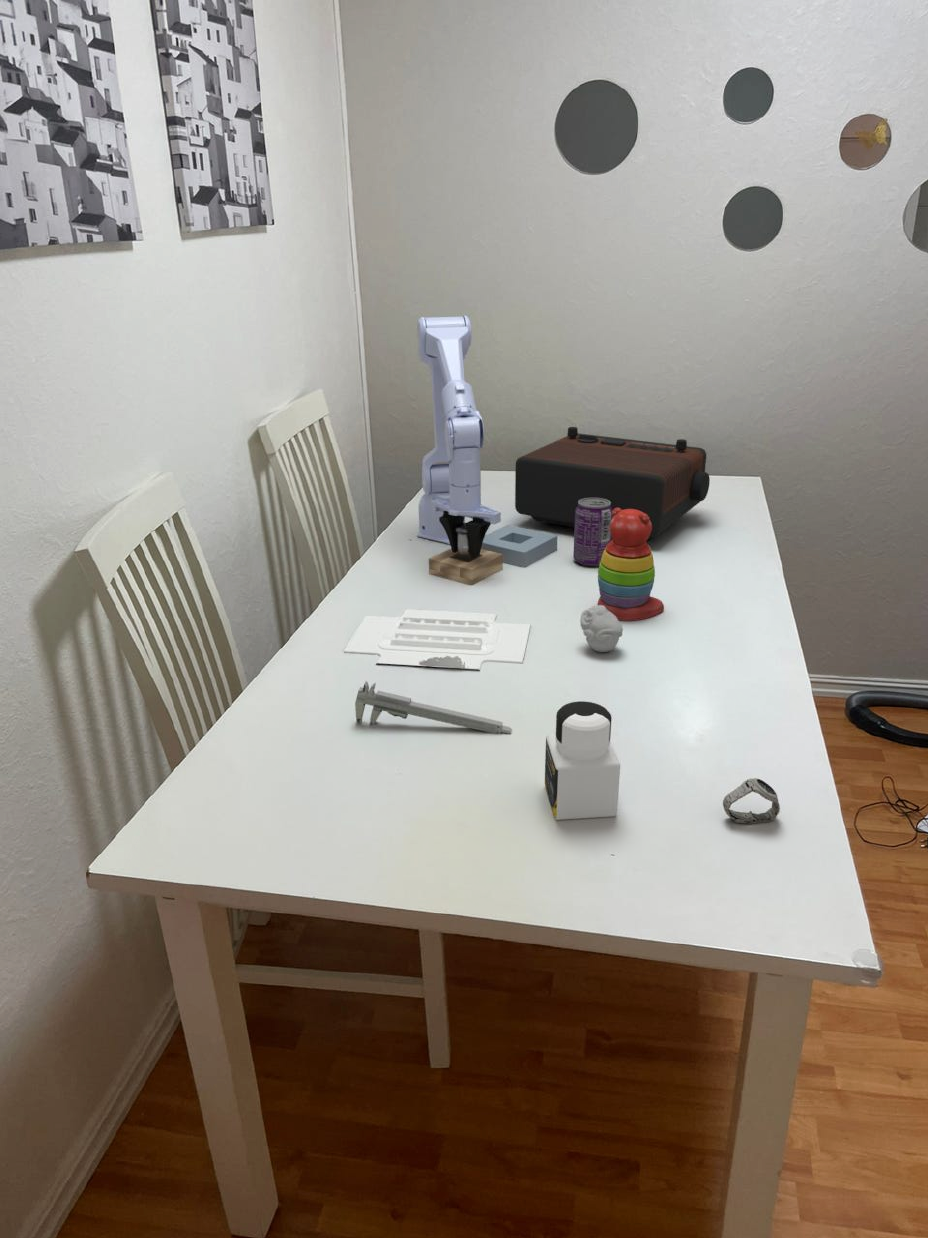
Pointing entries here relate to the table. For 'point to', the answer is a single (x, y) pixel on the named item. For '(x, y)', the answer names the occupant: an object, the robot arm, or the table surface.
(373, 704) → the caliper
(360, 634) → the tray
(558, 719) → the medicine bottle
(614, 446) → the radio receiver
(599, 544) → the beverage can
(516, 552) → the dock
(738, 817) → the wristwatch
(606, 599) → the stacking bear
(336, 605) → the table surface
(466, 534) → the pin
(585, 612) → the frog figurine
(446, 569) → the mount
